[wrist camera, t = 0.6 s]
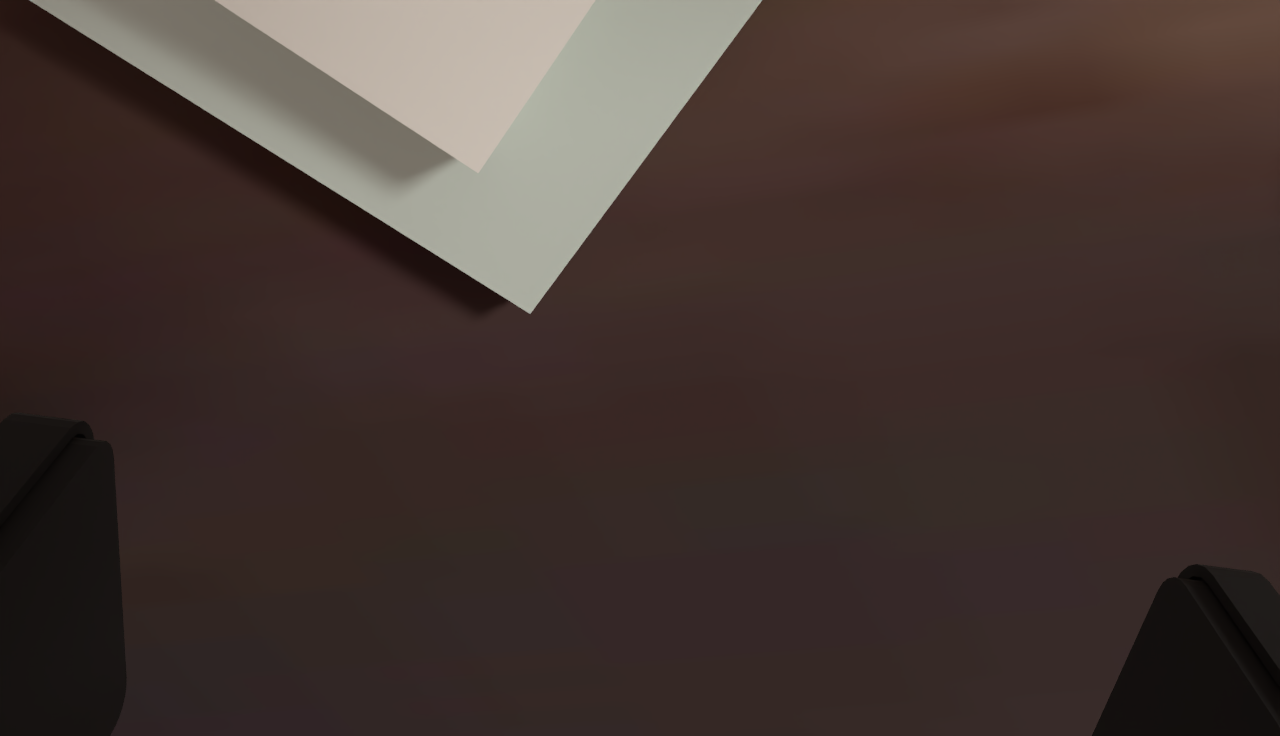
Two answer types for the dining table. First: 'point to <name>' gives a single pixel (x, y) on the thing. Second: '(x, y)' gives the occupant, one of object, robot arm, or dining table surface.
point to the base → (413, 170)
